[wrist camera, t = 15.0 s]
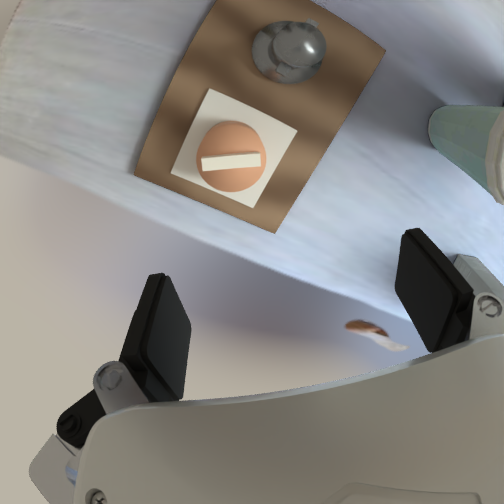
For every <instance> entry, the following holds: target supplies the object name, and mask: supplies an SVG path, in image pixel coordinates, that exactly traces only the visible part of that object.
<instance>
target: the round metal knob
mask: <svg viewBox="0 0 504 504" xmlns="http://www.w3.org/2000/svg"><path fill="white" fill-rule="evenodd" d="M318 25H319V23H318V22H316V21H314V20H312V19H310V18H308V19H307V20H306V21H305V22H293V21H278V22H274V23H271V24H269V25H267V26H265V27H264V28H263V29H261V30H260V32H259V33H258V34H257V35H256V37H255V39H254V41H253V44H252V59H253V62H254V64H255V66H256V68H257V69H258V70H259V72H260V73H261V74H262V75H264V76H265V77H266V78H268V79H270V80H272V81H274V82H277V83H281V84H297V83H301V82H304V81H306V80H308V79H310V78H311V77H312V76H314V75H315V74H316V73H317V71H318V70H319V68H320V66H321V64H322V60H323V57H324V55H325V53H326V48H327V45H326V40H325V37H324V36H323V34H322V33H321V31H320V30H319V29H318V28H317V26H318Z"/></svg>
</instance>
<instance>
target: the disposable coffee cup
mask: <svg viewBox="0 0 504 504" xmlns="http://www.w3.org/2000/svg"><path fill="white" fill-rule="evenodd" d="M428 133H429V137H430V141H431V143H432V144H433V146H434V147H435V148H436V149H437V150H438V151H439V153H441V154H442V155H443V156H445V157H446V158H447V159H449V160H450V161H451V162H453V163H454V164H455V165H456V166H458V167H459V168H460V169H462V170H463V171H464V172H465V173H467V174H468V175H469V176H470V177H471V178H473V179H474V180H475V181H476V182H477V183H478V184H480V185H481V186H482V187H483V188H484V189H485V190H486V191H488V192H489V193H490V194H491V195H492V196H493V197H494V199H495V201H496V202H497V203H500V204H502V205H504V107H495V106H473V105H446V106H443V107H441V108H438V109H436V110H435V111H434V112H433V114H432V115H431V117H430V119H429V125H428Z"/></svg>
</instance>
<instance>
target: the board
mask: <svg viewBox="0 0 504 504" xmlns="http://www.w3.org/2000/svg"><path fill="white" fill-rule="evenodd" d="M308 18H310V19H312V20H314V21H316V22H318V23H319V25H318V26H317V28H318V29H319V30H320V31H321V33H322V34H323V36H324V37H325V40H326V45H327V48H326V53H325V55H324V57H323V60H322V64H321V66H320V68H319V70H318V71H317V73H316V74H315V75H314V76H312V77H311V78H310V79H308V80H306V81H304V82H301V83H297V84H281V83H277V82H274V81H272V80H270V79H268V78H266V77H265V76H264V75H262V74H261V73H260V72H259V70H258V69H257V68H256V66H255V64H254V62H253V59H252V44H253V41H254V39H255V37H256V35H257V34H258V33H259V32H260V30H261V29H263V28H264V27H265V26H267V25H269V24H271V23H274V22H278V21H293V22H305V21H306V20H307V19H308ZM385 52H386V50H385V49H383V48H382V47H381V46H380V45H378V44H377V43H376V42H374V41H373V40H372V39H370V38H369V37H367V36H366V35H365V34H363V33H362V32H360V31H359V30H357V29H356V28H355V27H353V26H352V25H350V24H349V23H347V22H346V21H344V20H342V19H341V18H339V17H338V16H336V15H334V14H333V13H331V12H329V11H328V10H326V9H324V8H323V7H321V6H319V5H317V4H316V3H314V2H312V1H310V0H217V1H216V2H215V4H214V5H213V7H212V8H211V10H210V11H209V13H208V15H207V16H206V18H205V20H204V21H203V23H202V25H201V26H200V28H199V30H198V31H197V33H196V35H195V37H194V38H193V40H192V42H191V44H190V46H189V48H188V49H187V51H186V53H185V55H184V57H183V59H182V61H181V63H180V65H179V67H178V69H177V71H176V73H175V75H174V77H173V79H172V81H171V83H170V85H169V87H168V89H167V91H166V94H165V96H164V98H163V100H162V103H161V105H160V107H159V109H158V112H157V114H156V116H155V119H154V121H153V124H152V126H151V129H150V131H149V134H148V136H147V139H146V141H145V144H144V147H143V149H142V152H141V155H140V158H139V160H138V163H137V166H136V169H135V172H134V175H135V176H137V177H140V178H142V179H145V180H147V181H150V182H152V183H155V184H157V185H160V186H162V187H165V188H167V189H170V190H172V191H174V192H177V193H179V194H182V195H184V196H187V197H189V198H192V199H194V200H196V201H199V202H201V203H204V204H206V205H208V206H211V207H213V208H216V209H218V210H220V211H223V212H225V213H227V214H230V215H232V216H234V217H237V218H239V219H241V220H244V221H246V222H248V223H251V224H253V225H255V226H258V227H260V228H262V229H265V230H267V231H269V232H271V233H274V234H275V233H276V231H277V229H278V228H279V226H280V225H281V223H282V221H283V220H284V218H285V217H286V215H287V213H288V212H289V210H290V208H291V207H292V205H293V204H294V202H295V200H296V199H297V197H298V196H299V194H300V192H301V191H302V189H303V187H304V186H305V184H306V183H307V181H308V179H309V178H310V176H311V174H312V173H313V171H314V170H315V168H316V166H317V165H318V163H319V161H320V160H321V158H322V157H323V155H324V153H325V152H326V150H327V148H328V147H329V145H330V143H331V142H332V140H333V138H334V137H335V135H336V134H337V132H338V130H339V129H340V127H341V125H342V124H343V122H344V120H345V119H346V117H347V115H348V114H349V112H350V110H351V109H352V107H353V106H354V104H355V102H356V101H357V99H358V97H359V96H360V94H361V92H362V91H363V89H364V87H365V86H366V84H367V82H368V81H369V79H370V77H371V76H372V74H373V72H374V71H375V69H376V67H377V66H378V64H379V62H380V60H381V59H382V57H383V55H384V54H385ZM209 88H210V89H212V90H215V91H217V92H219V93H222V94H224V95H226V96H229V97H231V98H233V99H235V100H237V101H240V102H242V103H244V104H246V105H248V106H250V107H252V108H254V109H256V110H259V111H261V112H263V113H265V114H267V115H269V116H271V117H273V118H274V119H276V120H278V121H280V122H282V123H284V124H286V125H288V126H290V127H291V128H293V129H295V130H297V133H296V134H295V136H294V138H293V139H292V141H291V143H290V145H289V146H288V148H287V150H286V151H285V153H284V155H283V157H282V158H281V160H280V162H279V164H278V165H277V167H276V169H275V171H274V172H273V174H272V176H271V178H270V179H269V181H268V183H267V185H266V186H265V188H264V190H263V192H262V193H261V195H260V197H259V199H258V200H257V202H256V204H255V206H254V207H253V208H251V207H249V206H247V205H244V204H242V203H240V202H238V201H235V200H233V199H231V198H228V197H226V196H224V195H221V194H219V193H217V192H214V191H212V190H210V189H207V188H205V187H203V186H200V185H198V184H196V183H193V182H191V181H188V180H186V179H184V178H181V177H179V176H176V175H174V174H171V171H172V168H173V166H174V164H175V161H176V159H177V156H178V154H179V152H180V150H181V147H182V145H183V143H184V140H185V138H186V136H187V134H188V132H189V129H190V127H191V125H192V123H193V121H194V119H195V117H196V115H197V113H198V110H199V108H200V106H201V104H202V102H203V100H204V98H205V96H206V94H207V92H208V90H209Z"/></svg>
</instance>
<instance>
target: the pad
mask: <svg viewBox="0 0 504 504" xmlns="http://www.w3.org/2000/svg"><path fill="white" fill-rule="evenodd" d="M225 121H239V122H243V123H245V124H247V125H249V126H250V127H252V128H253V129H254V130H255V131H256V132H257V134H258V135H259V137H260V139H261V141H262V143H263V146H264V148H265V151H266V166H265V170H264V172H263V174H262V176H261V177H260V179H259V180H258V181H257V182H256V183H255V184H254V185H252V186H251V187H249V188H247V189H245V190H242V191H239V192H224V191H220V190H217V189H215V188H213V187H211V186H210V185H208V184H207V183H206V182H205V181H204V180H203V178H202V177H201V175H200V173H199V171H198V169H197V164H196V155H197V150H198V148H199V145H200V143H201V142H202V140H203V138H204V136H205V135H206V133H207V132H208V131H209V130H210V129H211V128H212V127H213V126H215V125H217V124H219V123H221V122H225ZM296 133H297V130H295V129H293V128H291V127H290V126H288V125H286V124H284V123H282V122H280V121H278V120H276V119H274V118H273V117H271V116H269V115H267V114H265V113H263V112H261V111H259V110H256V109H254V108H252V107H250V106H248V105H246V104H244V103H242V102H240V101H237V100H235V99H233V98H231V97H229V96H226V95H224V94H222V93H219V92H217V91H215V90H212V89H210V88H209V90H208V92H207V94H206V96H205V98H204V100H203V102H202V104H201V106H200V108H199V110H198V113H197V115H196V117H195V119H194V121H193V123H192V125H191V127H190V129H189V132H188V134H187V136H186V138H185V140H184V143H183V145H182V147H181V150H180V152H179V154H178V156H177V159H176V161H175V164H174V166H173V168H172V171H171V174H174V175H176V176H179V177H181V178H184V179H186V180H188V181H191V182H193V183H196V184H198V185H200V186H203V187H205V188H207V189H210V190H212V191H214V192H217V193H219V194H221V195H224V196H226V197H228V198H231V199H233V200H235V201H238V202H240V203H242V204H244V205H247V206H249V207H251V208H253V207H254V206H255V204H256V202H257V200H258V199H259V197H260V195H261V193H262V192H263V190H264V188H265V186H266V185H267V183H268V181H269V179H270V178H271V176H272V174H273V172H274V171H275V169H276V167H277V165H278V164H279V162H280V160H281V158H282V157H283V155H284V153H285V151H286V150H287V148H288V146H289V145H290V143H291V141H292V139H293V138H294V136H295V134H296Z"/></svg>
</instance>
